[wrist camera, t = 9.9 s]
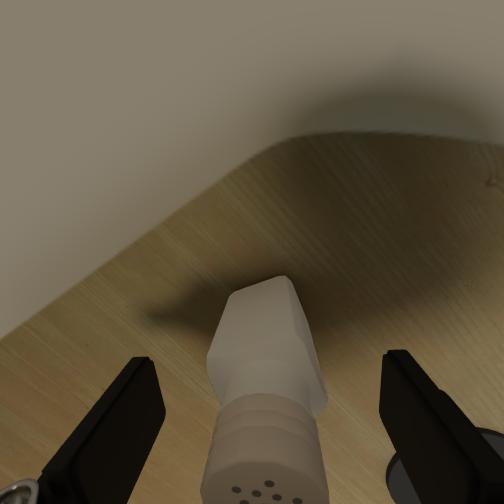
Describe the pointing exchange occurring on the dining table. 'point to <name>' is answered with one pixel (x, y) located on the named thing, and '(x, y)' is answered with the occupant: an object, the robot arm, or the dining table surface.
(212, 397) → the dining table surface
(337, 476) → the dining table surface
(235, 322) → the salt shaker
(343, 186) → the dining table surface
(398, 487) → the coaster
